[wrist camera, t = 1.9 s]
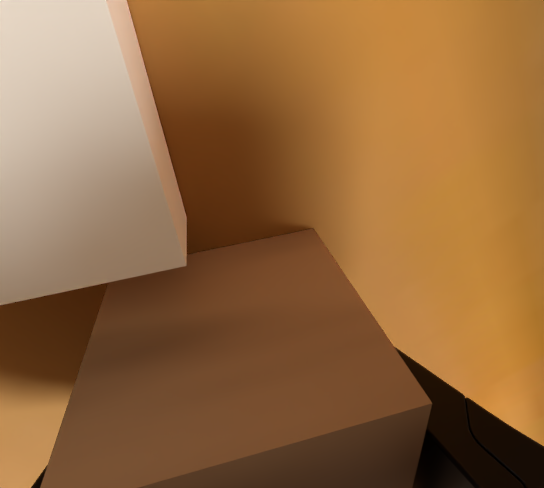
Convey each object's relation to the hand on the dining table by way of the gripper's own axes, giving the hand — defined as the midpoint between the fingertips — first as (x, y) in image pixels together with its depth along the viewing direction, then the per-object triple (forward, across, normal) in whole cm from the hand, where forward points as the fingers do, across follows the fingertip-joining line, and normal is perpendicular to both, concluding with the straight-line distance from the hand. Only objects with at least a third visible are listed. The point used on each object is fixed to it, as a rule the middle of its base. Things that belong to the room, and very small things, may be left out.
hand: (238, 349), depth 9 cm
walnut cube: (+1, 0, 0) cm, 1 cm away
